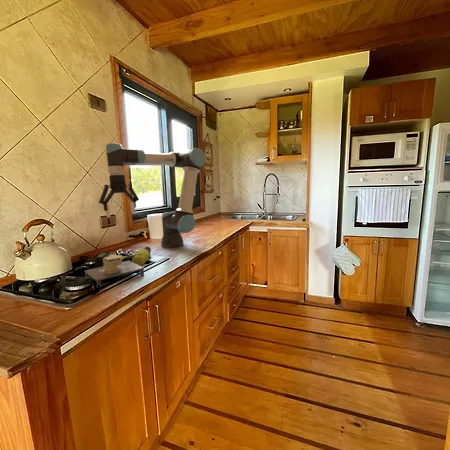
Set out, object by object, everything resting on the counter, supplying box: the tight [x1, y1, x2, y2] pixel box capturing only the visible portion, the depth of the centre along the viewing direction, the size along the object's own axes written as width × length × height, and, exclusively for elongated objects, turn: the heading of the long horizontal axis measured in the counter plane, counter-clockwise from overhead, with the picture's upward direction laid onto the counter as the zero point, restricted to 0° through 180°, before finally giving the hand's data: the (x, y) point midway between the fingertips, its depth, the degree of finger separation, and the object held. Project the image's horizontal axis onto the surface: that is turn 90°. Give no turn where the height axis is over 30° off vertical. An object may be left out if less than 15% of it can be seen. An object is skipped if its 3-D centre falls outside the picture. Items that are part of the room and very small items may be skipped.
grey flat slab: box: [83, 261, 145, 288], centre depth 111 cm, size 20×16×4 cm
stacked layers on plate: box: [99, 254, 129, 274], centre depth 111 cm, size 10×9×6 cm
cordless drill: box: [94, 246, 151, 268], centre depth 136 cm, size 7×25×25 cm
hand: (121, 215), depth 133 cm, fingers open, 13 cm apart
